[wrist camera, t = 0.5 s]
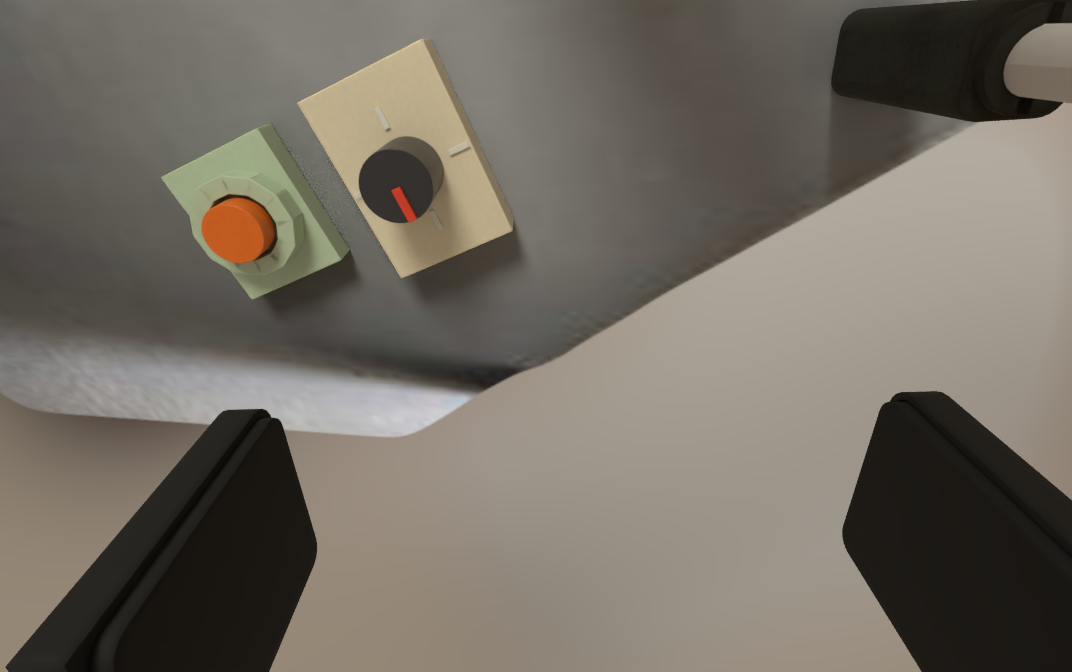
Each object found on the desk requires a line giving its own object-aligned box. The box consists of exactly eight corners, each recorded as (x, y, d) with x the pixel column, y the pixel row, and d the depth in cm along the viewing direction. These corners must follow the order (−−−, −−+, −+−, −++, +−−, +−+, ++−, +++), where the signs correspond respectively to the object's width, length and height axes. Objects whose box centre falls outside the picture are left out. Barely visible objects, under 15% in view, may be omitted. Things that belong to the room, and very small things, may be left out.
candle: (828, 97, 38) (1242, 185, 16) (843, 10, 35) (1358, -30, 13) (904, 92, 38) (1429, 174, 16) (925, 4, 35) (1582, -45, 13)
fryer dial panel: (313, 98, 38) (295, 103, 35) (430, 38, 36) (421, 38, 33) (409, 264, 43) (400, 280, 40) (514, 219, 42) (513, 232, 39)
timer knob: (364, 153, 36) (342, 168, 32) (423, 124, 35) (408, 136, 31) (398, 213, 38) (381, 236, 34) (455, 188, 37) (445, 207, 33)
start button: (202, 211, 37) (187, 219, 36) (250, 188, 37) (238, 194, 35) (239, 263, 39) (227, 272, 38) (286, 241, 38) (276, 249, 37)
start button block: (178, 170, 40) (144, 183, 36) (271, 123, 38) (244, 132, 35) (264, 288, 44) (240, 310, 41) (350, 250, 43) (333, 269, 39)
